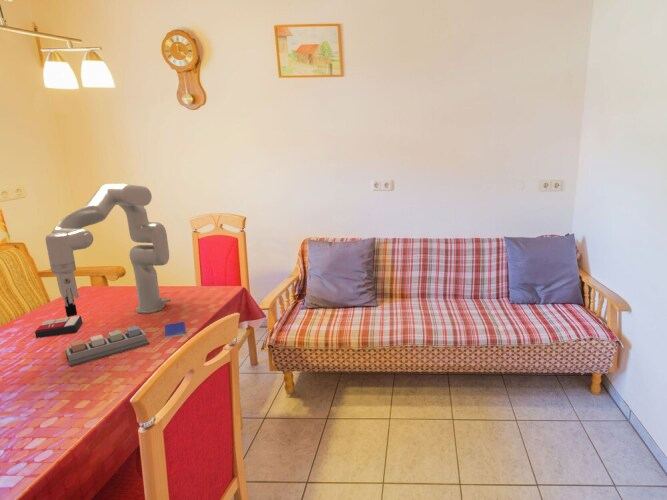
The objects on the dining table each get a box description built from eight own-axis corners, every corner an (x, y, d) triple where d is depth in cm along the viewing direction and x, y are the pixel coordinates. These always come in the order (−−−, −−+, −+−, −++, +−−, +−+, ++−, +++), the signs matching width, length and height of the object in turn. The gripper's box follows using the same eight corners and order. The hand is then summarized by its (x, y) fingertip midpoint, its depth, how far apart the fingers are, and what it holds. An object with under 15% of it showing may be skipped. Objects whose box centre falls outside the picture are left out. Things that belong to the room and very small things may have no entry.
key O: (102, 340, 167) (101, 334, 167) (104, 343, 164) (103, 337, 164) (91, 343, 165) (89, 337, 164) (92, 347, 162) (91, 341, 161)
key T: (137, 331, 175) (136, 325, 174) (140, 334, 172) (139, 328, 171) (127, 333, 173) (126, 328, 172) (129, 337, 170) (128, 331, 169)
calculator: (42, 320, 187) (80, 314, 191) (45, 329, 188) (83, 323, 192) (33, 330, 177) (74, 323, 181) (36, 340, 178) (76, 333, 182)
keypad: (140, 332, 181) (139, 325, 180) (149, 344, 170) (148, 337, 169) (65, 352, 165) (64, 345, 164) (70, 366, 154) (69, 359, 153)
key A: (120, 335, 171) (119, 329, 171) (122, 338, 168) (121, 333, 168) (109, 338, 169) (108, 332, 168) (111, 341, 166) (110, 336, 165)
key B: (83, 345, 163) (82, 339, 163) (85, 349, 160) (84, 343, 160) (71, 348, 161) (70, 342, 160) (73, 352, 158) (72, 346, 157)
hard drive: (185, 332, 177) (184, 321, 188) (164, 336, 174) (164, 324, 186) (186, 336, 178) (184, 324, 189) (165, 339, 175) (165, 327, 186)
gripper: (78, 269, 149) (87, 318, 154) (72, 261, 161) (80, 307, 165) (53, 274, 145) (62, 324, 149) (48, 265, 156) (57, 312, 161)
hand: (71, 315), depth 157 cm, fingers closed
